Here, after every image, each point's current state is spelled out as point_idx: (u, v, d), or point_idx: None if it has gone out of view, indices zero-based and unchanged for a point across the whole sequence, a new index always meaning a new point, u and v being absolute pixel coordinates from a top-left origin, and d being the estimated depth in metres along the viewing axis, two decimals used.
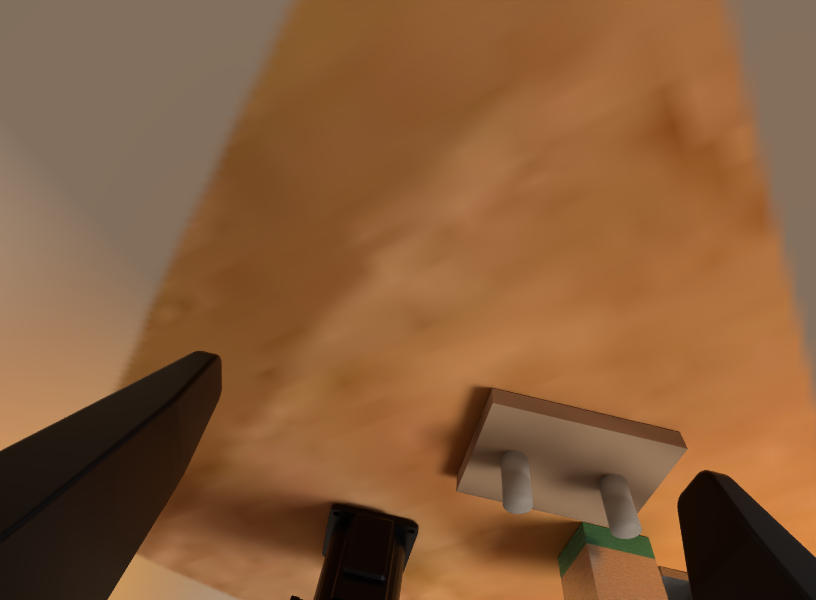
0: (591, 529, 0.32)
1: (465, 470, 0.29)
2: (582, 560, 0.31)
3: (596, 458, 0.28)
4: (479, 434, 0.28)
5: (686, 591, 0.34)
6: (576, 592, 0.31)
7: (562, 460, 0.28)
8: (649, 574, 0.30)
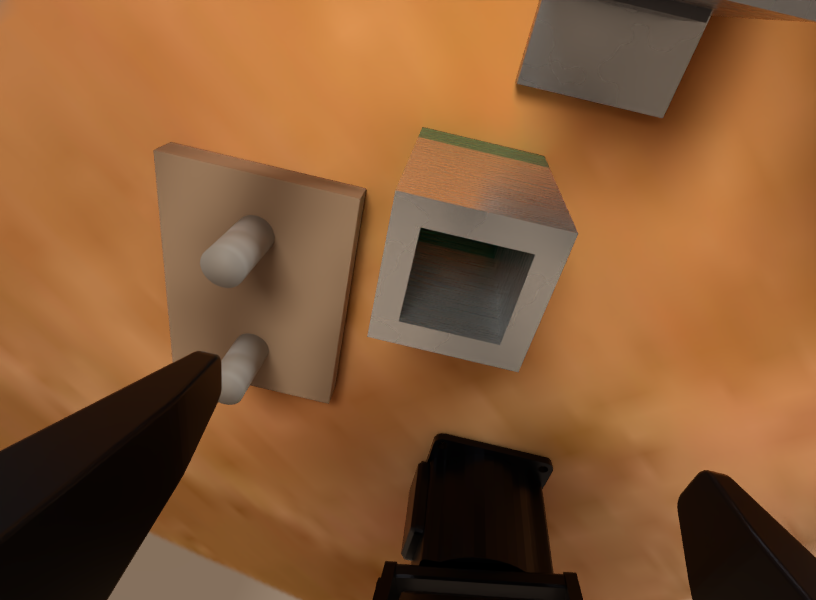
0: None
1: (287, 393, 0.24)
2: None
3: None
4: None
5: (580, 11, 0.15)
6: None
7: (233, 297, 0.21)
8: None
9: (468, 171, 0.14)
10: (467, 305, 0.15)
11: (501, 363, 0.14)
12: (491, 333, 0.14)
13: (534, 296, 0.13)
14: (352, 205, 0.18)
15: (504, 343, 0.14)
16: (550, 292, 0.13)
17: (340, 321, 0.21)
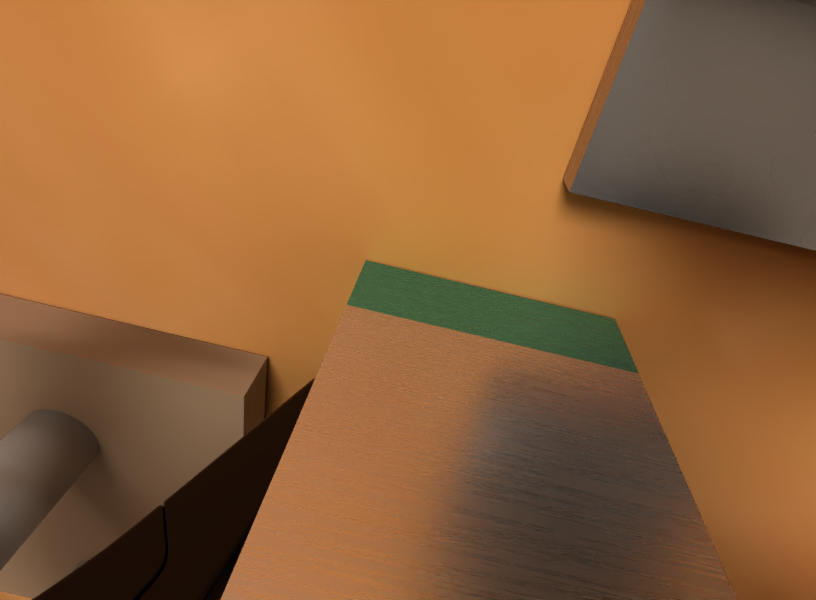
0: None
1: None
2: None
3: None
4: None
5: (745, 29, 0.06)
6: None
7: (54, 516, 0.12)
8: None
9: (453, 466, 0.05)
10: None
11: None
12: None
13: None
14: (231, 405, 0.09)
15: None
16: None
17: None
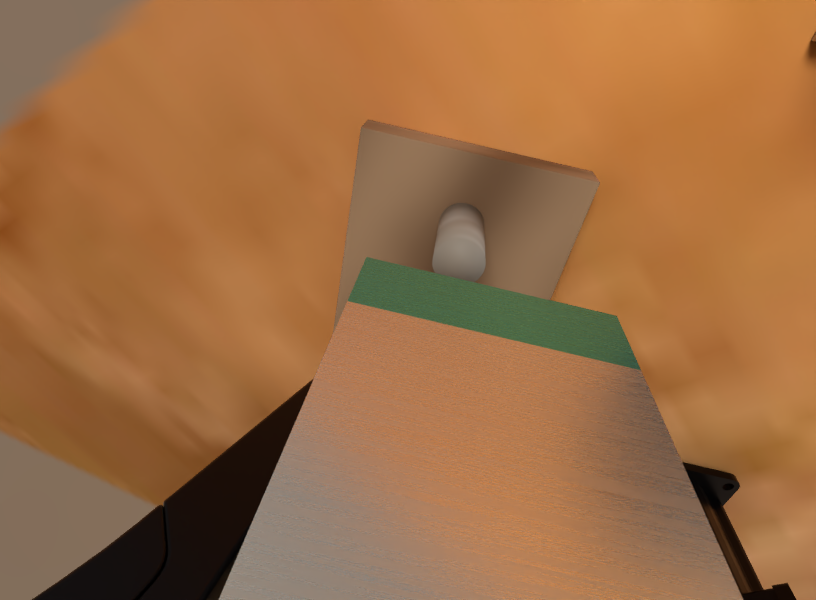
0: None
1: None
2: None
3: (406, 255, 0.18)
4: None
5: None
6: None
7: None
8: None
9: (455, 462, 0.05)
10: None
11: None
12: None
13: None
14: (588, 190, 0.16)
15: None
16: None
17: None
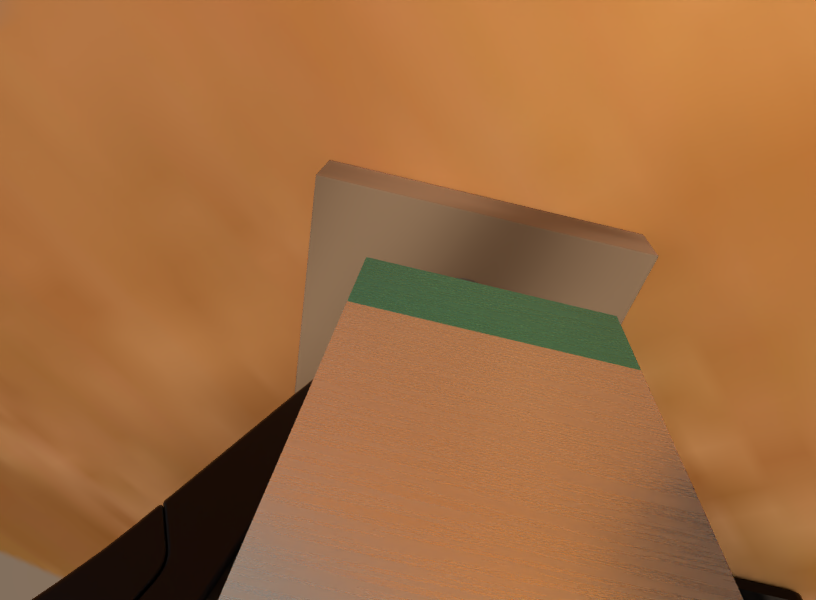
0: None
1: None
2: None
3: None
4: None
5: None
6: None
7: None
8: None
9: (455, 463, 0.05)
10: None
11: None
12: None
13: None
14: (641, 266, 0.11)
15: None
16: None
17: None
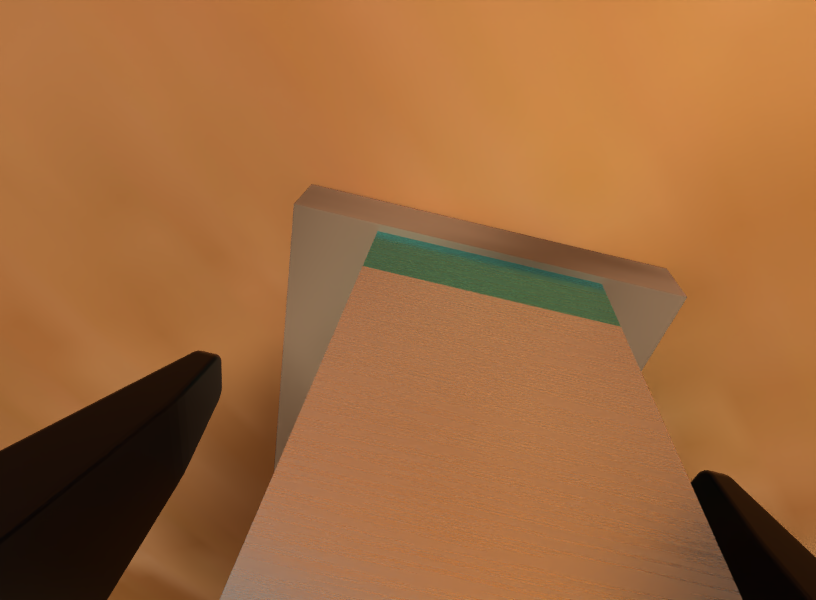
0: None
1: None
2: None
3: None
4: None
5: None
6: None
7: None
8: None
9: (458, 389, 0.06)
10: None
11: None
12: None
13: None
14: (666, 307, 0.10)
15: None
16: None
17: None
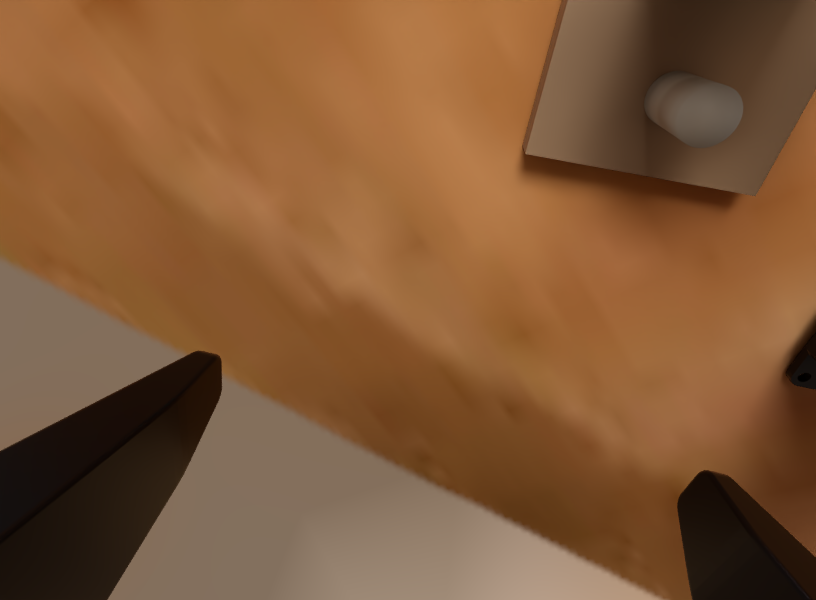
0: None
1: (692, 184, 0.17)
2: None
3: None
4: (601, 166, 0.17)
5: None
6: None
7: None
8: None
9: None
10: None
11: None
12: None
13: None
14: None
15: None
16: None
17: None
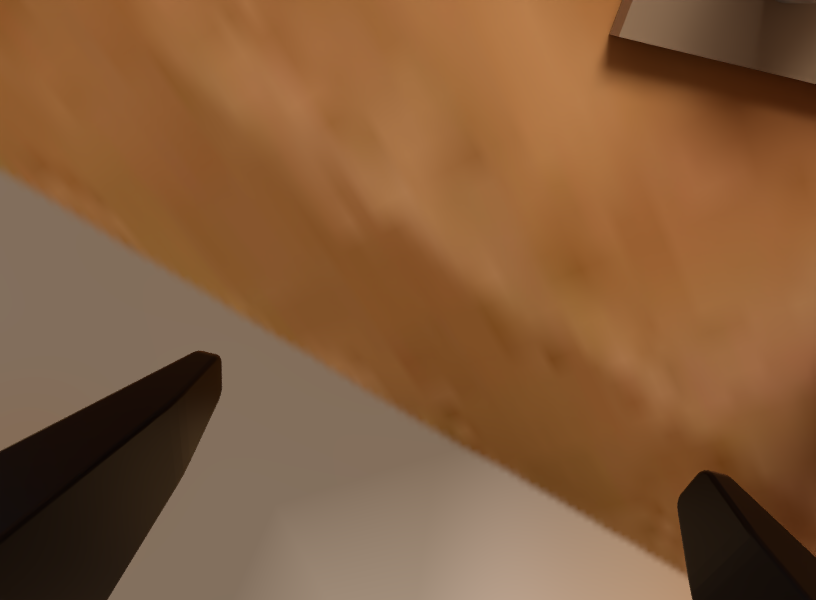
0: None
1: None
2: None
3: None
4: (704, 56, 0.15)
5: None
6: None
7: None
8: None
9: None
10: None
11: None
12: None
13: None
14: None
15: None
16: None
17: None
